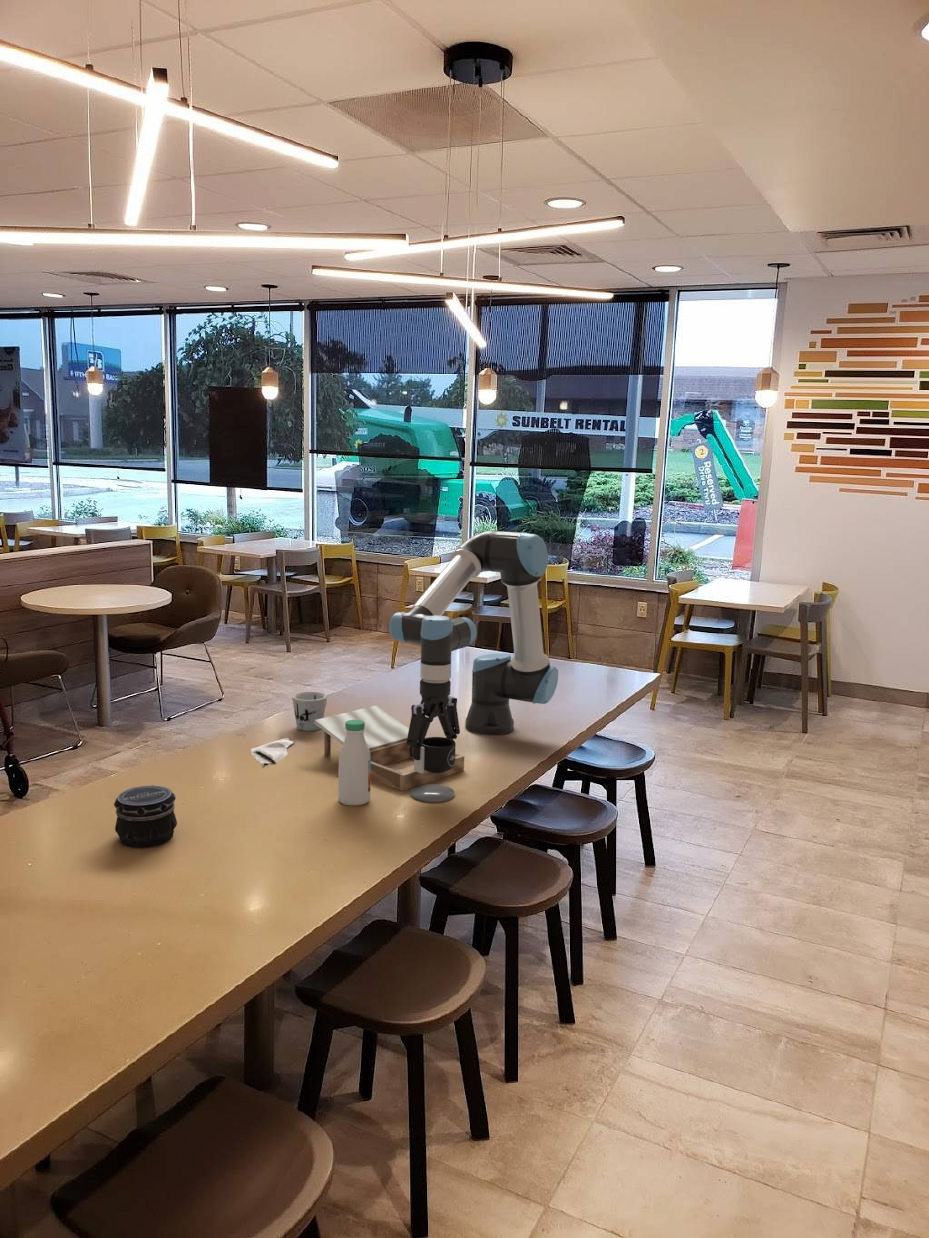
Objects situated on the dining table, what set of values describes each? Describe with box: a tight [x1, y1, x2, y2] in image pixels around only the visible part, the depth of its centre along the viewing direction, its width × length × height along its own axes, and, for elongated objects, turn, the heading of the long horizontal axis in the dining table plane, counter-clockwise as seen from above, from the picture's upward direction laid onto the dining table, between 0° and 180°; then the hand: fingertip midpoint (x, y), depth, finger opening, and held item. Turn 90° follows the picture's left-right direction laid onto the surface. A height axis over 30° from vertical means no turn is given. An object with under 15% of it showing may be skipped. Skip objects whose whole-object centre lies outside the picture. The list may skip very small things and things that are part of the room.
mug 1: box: [291, 691, 328, 732], centre depth 286 cm, size 10×15×10 cm
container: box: [113, 784, 178, 849], centre depth 202 cm, size 13×13×10 cm
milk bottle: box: [337, 720, 371, 807], centre depth 225 cm, size 8×8×20 cm
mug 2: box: [410, 736, 456, 773], centre depth 231 cm, size 12×9×7 cm
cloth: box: [249, 737, 295, 769], centre depth 261 cm, size 26×14×2 cm, turn 164°
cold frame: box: [314, 705, 465, 792], centre depth 254 cm, size 22×36×10 cm, turn 47°
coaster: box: [410, 783, 456, 803], centre depth 233 cm, size 11×11×1 cm
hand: (433, 767), depth 231 cm, fingers closed on mug 2, 9 cm apart
